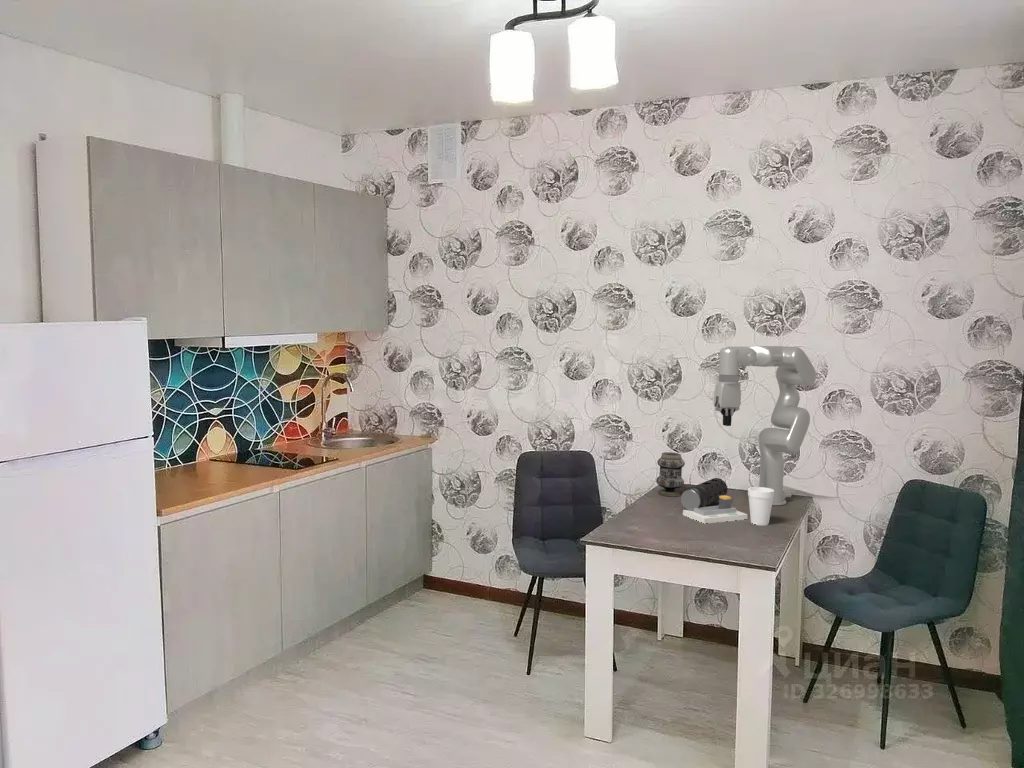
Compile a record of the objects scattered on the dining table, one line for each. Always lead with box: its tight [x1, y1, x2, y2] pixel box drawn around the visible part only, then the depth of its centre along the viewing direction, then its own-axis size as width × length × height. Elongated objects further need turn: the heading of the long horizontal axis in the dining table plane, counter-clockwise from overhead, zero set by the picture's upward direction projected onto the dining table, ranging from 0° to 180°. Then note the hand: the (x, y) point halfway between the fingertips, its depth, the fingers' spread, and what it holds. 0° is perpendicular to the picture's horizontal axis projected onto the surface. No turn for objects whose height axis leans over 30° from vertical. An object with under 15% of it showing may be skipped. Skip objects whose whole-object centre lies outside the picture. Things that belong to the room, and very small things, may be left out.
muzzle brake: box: [680, 477, 728, 511], centre depth 324 cm, size 10×28×10 cm, turn 144°
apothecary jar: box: [655, 451, 686, 497], centre depth 351 cm, size 12×12×18 cm
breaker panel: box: [682, 505, 749, 525], centre depth 312 cm, size 20×14×4 cm
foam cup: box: [747, 486, 774, 526], centre depth 303 cm, size 10×9×13 cm
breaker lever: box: [718, 494, 732, 509], centre depth 313 cm, size 3×3×6 cm
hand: (726, 425), depth 316 cm, fingers closed
